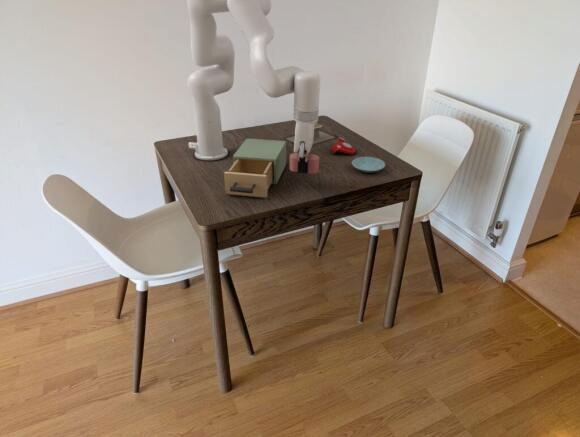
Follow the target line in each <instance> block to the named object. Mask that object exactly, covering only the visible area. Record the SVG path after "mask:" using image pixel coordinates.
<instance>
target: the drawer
mask: <svg viewBox="0 0 580 437" xmlns="http://www.w3.org/2000/svg"><path fill="white" fill-rule="evenodd" d="M273 179H274V161H262V160H249V159H237V160H236V161H235V163H234V164H233V163H232V165H231V167H230V168H229V169H228V171H224V172H223V180H224V189H225V194H226V195H235V196H236V195H237V196H247V197H257V198H268V191H269V188H270V187H271V185H272V184H271V183H272V181H273Z"/></svg>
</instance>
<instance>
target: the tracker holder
mask: <svg viewBox="0 0 580 437" xmlns="http://www.w3.org/2000/svg"><path fill="white" fill-rule="evenodd" d="M330 151H331V152H332V153H333V154H336V153H339V152H340V153H344V154H347V155H354V154H355V153H356V148H355V147H354V146H353V145H352V144H351V143H348V142H346V140H345V138H343V137H340V136H338V141H337V142H335V143H334V144H333V146H332V148H331V149H330Z"/></svg>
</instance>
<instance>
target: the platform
mask: <svg viewBox="0 0 580 437" xmlns="http://www.w3.org/2000/svg"><path fill="white" fill-rule="evenodd" d="M322 127H323V124H320V123H318V121H316V122H314V138H313V145H315V144H318V143H322V142H324V141H328V140H332V139H335V138H336V136H333V135H331V134H329V133H328V132H327V133H326V132H325V131H323V130H320V128H322ZM285 140H287V141H289V142H291V143H293V144H294V141H295V135H293V136H289V137H286V138H285Z"/></svg>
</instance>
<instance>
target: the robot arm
mask: <svg viewBox="0 0 580 437" xmlns="http://www.w3.org/2000/svg"><path fill="white" fill-rule="evenodd" d="M186 6H187V7H186V8H187V11H188V16H189V17H188V18H189V26H190V27H189V33H190V34H189V35H190V57H191V60H192V62H193V64H194V65H195V66H197V67H200V68H203V69H198V70H196V71H193V72H191V73H190V74H189V76H188V78H187V81H186V84H187V89H188V93H189V96H190V99H191V104H192V110H193V117H194V126H195V133H196V134H195V135H196V142H194V141H193V142H192V141H189V142H188V143H187V146H188V149H189V150H195V151H194V157H195V158H196V159H198V160H201V161H218V160H221V159H223V158H225V157H227V156H228V153H229V151H228V149H227V148H226V147H224V140H223V139H224V138H223V129H222V117H221V108H220V105H219V103H218V102H217V101H216V99H215V96H218V95H222V94H224V93H226V92H227V93H228V92H229V91H231V89H232V88H233V86H234V80H235V59H236V58H235V55H236V54H235V48H234V44H233V41H232V40H231V39H230V38H229V36H228V35H225V34H222V33H217V30H218V29H217V22H216V19H215V17H214V15H213V14H219V13H230V15H231V17H232V18H233V20H234V22H235V24H236V26H237V27H238V28H239V30H240V32H241V33H242V35H243V37H244V39H245V41H246V42H247V44H248V45H249V50H250V51H249V64H250V69H251V73H252V74H253V78H254V79H255V80H256V82H257V84H258V86H259V87H260V89H261V90H262V91H263V92H264V93H265V94H266V95H267V96H268V97H270V98H274V99H275V98H280V97H283V96H285V95H289V94H293V121H294V122H295V129H294V136H295V141H294V143H293V153H299V156H298V172H297V173H298V174H306V175H307V174H309V173H308V161H307V158H308V154H311V151H312V147H313V145H314V144H313V138H314V123H316V122H318V121H319V110H320V94H321V76H320V74H319V73H318V72H316V71H312V70H304V69H302V68H300V67H297V66H293V65H290V66H285V67H282V68H278V69H274V67H273V65H272V64H271V62H270V60H269V58H268V55H267V47H268V45H269V44H270V43H271V41H273V39H274V37H275V30H274V28H273V26H272V24H271V23H270V21H269V20H268V18H267V16H268V15H269V14H270V12H271V10H272V0H186ZM206 67H207V68H206ZM304 155H306V156H304Z"/></svg>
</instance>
